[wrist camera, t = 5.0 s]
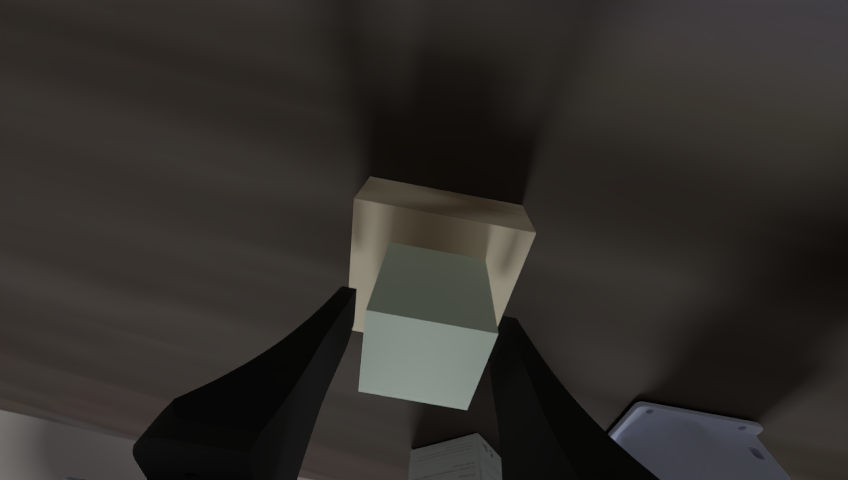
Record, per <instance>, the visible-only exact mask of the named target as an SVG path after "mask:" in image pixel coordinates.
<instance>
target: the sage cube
mask: <svg viewBox="0 0 848 480" xmlns="http://www.w3.org/2000/svg"><path fill="white" fill-rule="evenodd" d="M497 336H498V328H497V322H496V316H495V311H494V305H493V299H492V293H491V288H490V282H489V276H488V270H487V265H486V260H485V259H480V258H474V257H469V256H463V255H458V254H452V253H447V252H442V251H436V250H431V249H425V248H420V247H414V246H409V245H403V244H398V243H393V242H390V243H389V245H388V248H387V251H386V254H385V257H384V260H383V263H382V265H381V268H380V271H379V274H378V277H377V280H376V282H375V285H374V288H373V291H372V294H371V297H370V300H369V302H368V305H367V308H366V314H365V325H364V336H363V346H362V357H361V368H360V379H359V390H358V391H360V392H366V393H371V394H377V395H383V396H389V397H394V398H400V399H406V400H411V401H417V402H423V403H428V404H434V405H440V406H445V407H451V408H457V409H462V410H467V409H468V407H469V404H470V402H471V399H472V397H473V395H474V392H475V390H476V387H477V385H478V383H479V380H480V378H481V375H482V373H483V370H484V368H485V366H486V363H487V361H488V358H489V356H490V353H491V351H492V349H493V346H494V344H495V341H496V339H497Z"/></svg>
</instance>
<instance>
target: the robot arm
mask: <svg viewBox="0 0 848 480" xmlns="http://www.w3.org/2000/svg"><path fill="white" fill-rule="evenodd" d="M356 293H357V289H355V288H350V287H344V286H342V287H341V288H339V290H338V291H337V292H336V293H335V294H334V295H333V296H332V297H331V298H330V299H329V300H328V301H327V302H326V303H325V304H324V305H323V306H322V307H321V308H320V309H319V310H318V311H316V312H315V313H314V314H313V315H312V316H311V317H310V318H309V319H308V320H306V321H305V322H304V323H303V324H302V325H300V326H299V327H298V328H297V329H295V330H294V331H293V332H292V333H290V334H289V335H288V336H287V337H285V338H284V339H283V340H281V341H280V342H278V343H277V344H275V345H274V346H273V347H271V348H270V349H268V350H267V351H265V352H264V353H262V354H260V355H259V356H257V357H256V358H254V359H253V360H251V361H249V362H248V363H246V364H244V365H242V366H241V367H239V368H237V369H235V370H233V371H231V372H230V373H228V374H226V375H224V376H222V377H220V378H218V379H216V380H214V381H213V382H211V383H208V384H206V385H204V386H202V387H200V388H198V389H195V390H193V391H191V392H189V393H187V394H184V395H182V396H180V397H178V398H175V399H174V400H173V401H172V402H171V403H170V404H169V405H168V406H167V407H166V408H165V409H164V410H163V411H162V412H161V413H160V414H159V416H158V417H157V418H156V419H155V420H154V421H153V423H152V424H151V425H150V426H149V427H148V429H147V430H146V431H145V432H144V433H143V435H142V436H141V437H140V438H139V439H138V441H137V442H136V443H135V444H134V446H133V456H134V458H135V460H136V462H137V464H138V465H139V467H140V468H141V470H142V471H143V473H144V475H145V476H146V477H147V480H297V477H298V474H299V471H300V468H301V465H302V461H303V458H304V455H305V452H306V449H307V446H308V443H309V440H310V437H311V434H312V431H313V428H314V425H315V422H316V419H317V416H318V413H319V410H320V407H321V404H322V402H323V399H324V397H325V394H326V392H327V390H328V387H329V385H330V383H331V381H332V378H333V376H334V374H335V372H336V369H337V367H338V365H339V363H340V360H341V358H342V356H343V354H344V351H345V349H346V347H347V344H348V341H349V338H350V335H351V332H352V329H353V325H354V319H355V306H356ZM489 359H490V374H491V381H492V388H493V394H494V400H495V407H496V413H497V419H498V426H499V434H500V449H501V466H502V480H791V478H790V477H789V476H788V475H787V474H786V472H785V471H784V470H783V469H782V468H781V466H780V465H779V464H778V463H777V461H776V460H775V459H774V458H773V457H772V455H771V454H770V453H769V452H768V450H767V449H766V448H765V447H764V446H763V444H762V443H761V442H760V441H759V439H758V438H757V437H756V435H758V434H759V433H760V432H762V430H763V428H762V427H761V425H760V424H759V423H757V422H753V421H748V420H742V419H737V418H731V417H726V416H720V415H715V414H709V413H704V412H698V411H693V410H687V409H682V408H676V407H671V406H665V405H660V404H654V403H649V402H642V401H641V402H637V403H635V404H634V405H633V406H632V407H631V408H630V410H629V411H628V412H627V413H626V414H625V415H624V416H623V417H622V419H621V420H620V421H619V422H618V423H617V424H616V425H615V426H614V428H613V429H612V430H611V431H610V432H609V433H608V434H607V433H606V432H605V431H604V430H603V429H602V428H601V427H600V426H599V425H598V424H597V423H596V422H595V421H594V420H593V419H592V418H591V417H590V416H589V415H588V414H587V413H586V412H585V410H584V409H583V408H582V407H581V406H580V405H579V404H578V403H577V402H576V400H575V399H574V398H573V397H572V396H571V395H570V394H569V392H568V391H567V390H566V389H565V388H564V386H563V385H562V384H561V383H560V381H559V380H558V379H557V377H556V376H555V375H554V374H553V372H552V371H551V370H550V368H549V367H548V365H547V364H546V363H545V361H544V360H543V358H542V357H541V355H540V354H539V353H538V351H537V350H536V348H535V347H534V345H533V344H532V342H531V340H530V339H529V337H528V336H527V334H526V333H525V331H524V330H523V328H522V326H521V325H520V323H519V322H518V320H517V319H516V318H512V317H506V316H502V318H501V320H500V323H499V325H498V336H497V339H496V341H495V344H494V346H493V349H492V351H491V353H490V356H489ZM63 480H83V479H77V478H72V477H68V478H65V479H63Z"/></svg>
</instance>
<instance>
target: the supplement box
mask: <svg viewBox="0 0 848 480" xmlns="http://www.w3.org/2000/svg"><path fill="white" fill-rule="evenodd" d="M408 480H502V466H501V457H500V456H499V455H498V454H497V453H496V452H495V451H494V450H493V448H492V447H491V446H490V445H489V444H488V443H487V442H486V441H485V440H484V439H483V438H482V437H481V436H480V435H479V434H478V433H474V434H471V435H467V436H464V437H460V438H456V439H452V440H449V441H445V442H441V443H437V444H433V445H430V446H426V447H422V448H418V449H414V450H411V453H410V464H409V474H408Z"/></svg>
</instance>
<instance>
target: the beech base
mask: <svg viewBox="0 0 848 480" xmlns="http://www.w3.org/2000/svg"><path fill="white" fill-rule="evenodd" d="M535 235H536V232H535V230H534V228H533V226H532V224H531V222H530V220H529V218H528V216H527V214H526V212H525V210H524V208H523V206H522V205H517V204H512V203H507V202H502V201H496V200H491V199H486V198H481V197H476V196H470V195H465V194H460V193H455V192H450V191H444V190H439V189H434V188H429V187H423V186H418V185H413V184H408V183H403V182H397V181H392V180H387V179H382V178H377V177H371V176H370V177H369V179H368V180H367V181H366V183H365V184H364V185H363V187H362V188H361V190H360V191H359V192H358V194H357V195H356V196H355V198H354V207H353V224H352V242H351V259H350V276H349V287H350V288H355V289H357V293H356V306H355V319H354V325H353V329H352V330H354V331H359V332H364V325H365V314H366V308H367V305H368V302H369V300H370V297H371V294H372V291H373V288H374V285H375V282H376V280H377V277H378V274H379V271H380V268H381V265H382V263H383V260H384V257H385V254H386V251H387V248H388V245H389V243H390V242H393V243H398V244H403V245H409V246H414V247H420V248H425V249H431V250H436V251H442V252H447V253H452V254H458V255H463V256H469V257H474V258H480V259H485V260H486V265H487V270H488V276H489V282H490V288H491V293H492V299H493V305H494V311H495V316H496V322H497V327H498V325H499V322H500V320H501V317H502V315H503V312H504V310H505V308H506V305H507V303H508V300H509V298H510V295H511V293H512V291H513V288H514V286H515V283H516V281H517V278H518V276H519V274H520V271H521V269H522V266H523V264H524V261H525V259H526V256H527V254H528V252H529V249H530V247H531V244H532V242H533V239H534V237H535Z"/></svg>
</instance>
